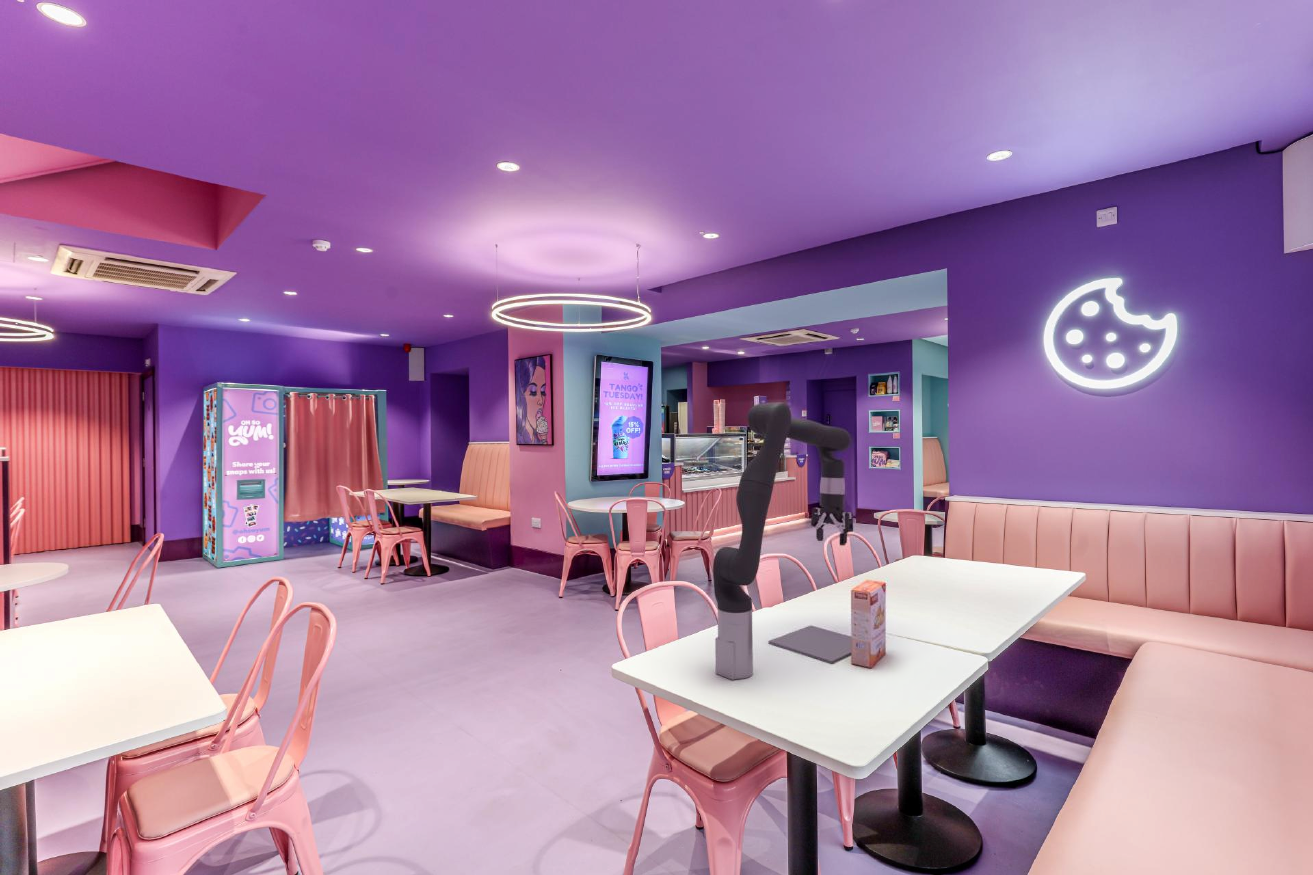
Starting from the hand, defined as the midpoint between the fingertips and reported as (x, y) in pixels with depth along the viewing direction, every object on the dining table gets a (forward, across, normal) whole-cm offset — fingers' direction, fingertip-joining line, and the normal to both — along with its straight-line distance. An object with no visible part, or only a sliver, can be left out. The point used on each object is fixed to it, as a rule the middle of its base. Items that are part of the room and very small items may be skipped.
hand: (831, 542), depth 186 cm
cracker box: (+29, +20, -8) cm, 36 cm away
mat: (+29, +4, -9) cm, 31 cm away
